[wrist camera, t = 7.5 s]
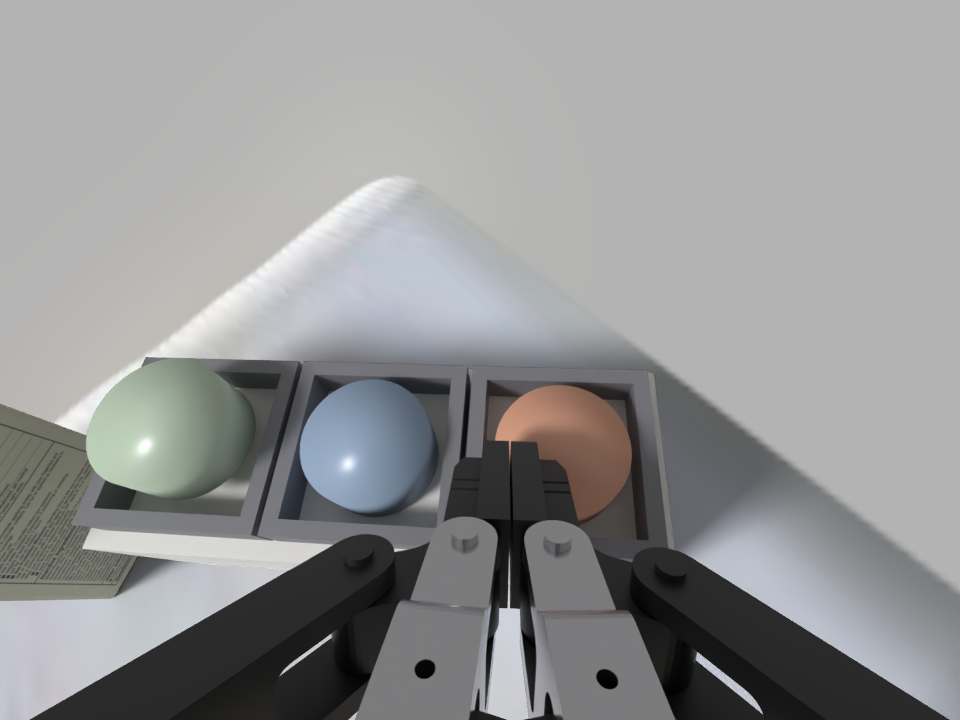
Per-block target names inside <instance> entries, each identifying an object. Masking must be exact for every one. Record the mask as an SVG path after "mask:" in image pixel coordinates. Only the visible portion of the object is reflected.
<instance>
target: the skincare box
mask: <svg viewBox="0 0 960 720" xmlns="http://www.w3.org/2000/svg"><path fill="white" fill-rule="evenodd" d="M86 437H87V436H86V435H84V434H81V433H78V432H75V431H73V430H70V429H67V428H65V427H62V426H59V425H57V424H54V423H51V422H48V421H46V420H43V419H40V418H37V417H34V416H32V415H29V414H26V413H24V412H21V411H18V410H15V409H13V408H10V407H7V406H5V405H2V404H0V601H32V600H76V599H110V598H112V597H114V596H115V595H116V593H117V591H118V590H119V588H120V586H121V585H122V583H123V581H124V579H125V578H126V576H127V574H128V573H129V571H130V569H131V567H132V566H133V564H134V562H135V560H136V558H137V557H138V556H136V555H128V554H120V553H113V552H105V551H97V550H89V549H82V547H83V545H84V543H85V540H86V538H87V536H88V533H89V531H90V529H91V528H90V527H85V526H79V525H73V524H71V523H72V521H73V519H74V517H75V514H76V512H77V510H78V508H79V505H80V503H81V501H82V499H83V497H84V494H85V492H86V490H87V488H88V485H89V483H90V481H91V479H92V476H93V474H94V472H95V470H94V469H93V468H92V466H91V464H90V462H89V459H88V456H87V451H86Z"/></svg>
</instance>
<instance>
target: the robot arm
mask: <svg viewBox="0 0 960 720" xmlns="http://www.w3.org/2000/svg"><path fill="white" fill-rule="evenodd" d="M509 554H510V608H516V609H520V650H521V658H522V666H523V675H524V683H525V692H526V700H527V708H528V717H529V719H525V720H949V719H947V718H946V717H944V716H943V715H941V714H939V713H938V712H936V711H935V710H933V709H931V708H930V707H928V706H927V705H925V704H923V703H922V702H920V701H919V700H917V699H915V698H914V697H912V696H911V695H909V694H907V693H906V692H904V691H903V690H901V689H900V688H898V687H896V686H895V685H893V684H892V683H890V682H888V681H887V680H885V679H884V678H882V677H880V676H879V675H877V674H876V673H874V672H872V671H871V670H869V669H868V668H866V667H864V666H863V665H861V664H860V663H858V662H857V661H855V660H853V659H852V658H850V657H849V656H847V655H845V654H844V653H842V652H841V651H839V650H837V649H836V648H834V647H833V646H831V645H829V644H828V643H826V642H825V641H823V640H821V639H820V638H818V637H817V636H815V635H814V634H812V633H810V632H809V631H807V630H806V629H804V628H802V627H801V626H799V625H798V624H796V623H794V622H793V621H791V620H790V619H788V618H786V617H785V616H783V615H782V614H780V613H778V612H777V611H775V610H774V609H772V608H770V607H769V606H767V605H766V604H764V603H763V602H761V601H759V600H758V599H756V598H755V597H753V596H751V595H750V594H748V593H747V592H745V591H743V590H742V589H740V588H739V587H737V586H735V585H734V584H732V583H731V582H729V581H727V580H726V579H724V578H723V577H721V576H720V575H718V574H716V573H715V572H713V571H712V570H710V569H708V568H707V567H705V566H704V565H702V564H700V563H699V562H697V561H696V560H694V559H692V558H691V557H689V556H687V555H686V554H683V553H681V552H679V551H676V550H673V549H668V548H662V547H652V548H647V549H643V550H641V551H640V552H638V553H637V554H636V555H635V557H634V559H633V562H629V561H625V560H622V559H618V558H615V557H612V556H608V555H606V554H604V553H602V552H600V551H598V550H596V549H595V548H594V547H593V546H592V544H591V541H590V539H589V537H588V536H587V534H586V533H585V532H584V531H583V530H581V529H580V527H579V522H578V518H577V514H576V510H575V505H574V501H573V497H572V494H571V489H570V484H569V480H568V476H567V472H566V470H565V469H564V468H563V467H562V466H561V465H560V464H559V463H558V462H557V460H540V459H539V452H538V445H537V442H530V441H511V452H510V470H509V441H496V440H483V449H482V458H478V457H463V458H462V459H461V460H460V461H459V462H458V463H457V464H456V465H455V466H454V471H453V476H452V481H451V486H450V491H449V496H448V501H447V506H446V511H445V516H444V521H443V523H442V524H440V525H439V526H438V527H437V528H436V529H435V530H434V533H433V535H432V538H431V541H429V542H428V543H426V544H424V545H422V546H419V547H416V548H412V549H408V550H402V551H397V552H394V548H393V545H392V544H391V543H390V542H389V541H388V540H387V539H385V538H384V537H381V536H378V535H374V534H360V535H355V536H351V537H348V538H345V539H343V540H341V541H339V542H337V543H336V544H334V545H332V546H330V547H329V548H327V549H325V550H324V551H322V552H320V553H318V554H317V555H315V556H313V557H311V558H310V559H308V560H306V561H304V562H303V563H301V564H299V565H297V566H296V567H294V568H292V569H291V570H289V571H287V572H285V573H284V574H282V575H280V576H278V577H277V578H275V579H273V580H271V581H270V582H268V583H266V584H265V585H263V586H261V587H259V588H258V589H256V590H254V591H252V592H251V593H249V594H247V595H245V596H244V597H242V598H240V599H238V600H237V601H235V602H233V603H232V604H230V605H228V606H226V607H225V608H223V609H221V610H219V611H218V612H216V613H214V614H212V615H211V616H209V617H207V618H206V619H204V620H202V621H200V622H199V623H197V624H195V625H193V626H192V627H190V628H188V629H186V630H185V631H183V632H181V633H179V634H178V635H176V636H174V637H173V638H171V639H169V640H167V641H166V642H164V643H162V644H160V645H159V646H157V647H155V648H153V649H152V650H150V651H148V652H147V653H145V654H143V655H141V656H140V657H138V658H136V659H134V660H133V661H131V662H129V663H127V664H126V665H124V666H122V667H120V668H119V669H117V670H115V671H114V672H112V673H110V674H108V675H107V676H105V677H103V678H101V679H100V680H98V681H96V682H94V683H93V684H91V685H89V686H88V687H86V688H84V689H82V690H81V691H79V692H77V693H75V694H74V695H72V696H70V697H68V698H67V699H65V700H63V701H61V702H60V703H58V704H56V705H55V706H53V707H51V708H49V709H48V710H46V711H44V712H42V713H41V714H39V715H37V716H35V717H34V718H32V719H30V720H348V719H349V718H351V717H352V716H353V715H354V714H355V713H356V712H357V711H358V713H357V716H356V718H355V720H506V719H503V718H500V717H497V716H494V715H491V714H488V713H487V712H488V703H489V694H490V684H491V675H492V666H493V657H494V648H495V632H496V630H497V627H498V623H499V608H507V604H508V575H509ZM331 633H332V638H331V639H329V640H328V641H327V642H325V643H324V644H323V645H321V646H320V647H319V648H317V649H316V650H315V651H313V652H312V653H310V654H309V655H308V656H306V657H305V658H304V659H302V660H301V661H300V662H298V663H297V664H296V665H294V666H293V667H292V668H290V669H289V670H287V671H286V672H285V673H283V674H282V675H281V676H279V675H280V674H281V673H282V671H283V670H284V669H285V668H286V667H287V666H288V665H289V664H290V663H292V662H293V661H294V660H296V659H297V658H298V657H300V656H301V655H302V654H304V653H305V652H307V651H308V650H309V649H311V648H312V647H313V646H315V645H316V644H318V643H319V642H320V641H322V640H323V639H324V638H326V637H327V636H329V635H330V634H331ZM697 652H698V653H700V654H701V655H702V656H703V657H705V658H706V659H707V660H708V661H710V662H711V663H712V664H713V665H715V666H716V667H717V668H719V669H720V670H721V671H722V672H724V673H725V674H726V675H727V676H729V677H730V678H731V679H732V680H734V681H735V682H736V683H738V684H739V685H740V686H741V687H743V688H744V689H745V690H746V691H747V692H749V694H750V695H751V696H752V697H753V698H754V699H755V700H756V702H757V703H758V705H759V706H760V708H761V710H762V712H763V714H762V713H760V712H759V711H758V710H757V709H755V708H754V707H753V706H752V705H750V704H749V703H748V702H747V701H745V700H744V699H743V698H742V697H740V696H739V695H738V694H737V693H735V692H734V691H733V690H732V689H731V688H729V687H728V686H727V685H726V684H724V683H723V682H722V681H721V680H719V679H718V678H717V677H716V676H714V675H713V674H712V673H711V672H709V671H708V670H707V669H706V668H704V667H703V666H702V665H701V664H700V663H698V662H697V661H696V655H697Z"/></svg>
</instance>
